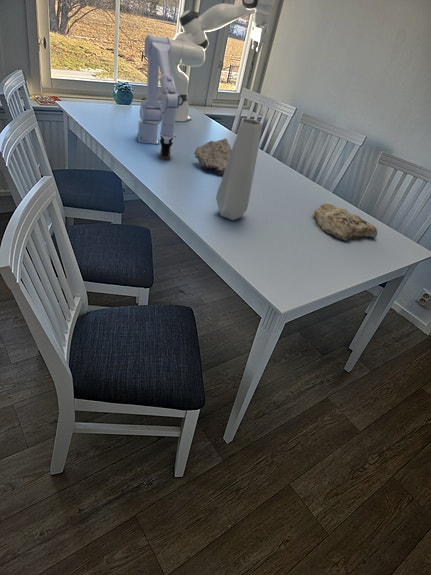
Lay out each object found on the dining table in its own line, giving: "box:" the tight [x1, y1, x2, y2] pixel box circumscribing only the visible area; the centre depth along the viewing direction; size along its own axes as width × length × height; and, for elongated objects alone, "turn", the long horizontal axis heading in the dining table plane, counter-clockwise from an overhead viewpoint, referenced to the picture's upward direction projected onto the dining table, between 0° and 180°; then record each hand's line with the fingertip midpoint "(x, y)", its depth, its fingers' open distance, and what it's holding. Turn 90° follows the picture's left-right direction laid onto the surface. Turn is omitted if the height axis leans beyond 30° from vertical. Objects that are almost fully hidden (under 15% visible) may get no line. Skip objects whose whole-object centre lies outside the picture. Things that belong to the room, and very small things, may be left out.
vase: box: [215, 117, 263, 221], centre depth 128 cm, size 12×12×33 cm
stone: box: [313, 203, 378, 242], centre depth 145 cm, size 19×6×25 cm
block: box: [159, 145, 171, 161], centre depth 170 cm, size 4×4×4 cm
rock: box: [193, 138, 232, 176], centre depth 167 cm, size 15×17×15 cm
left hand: (165, 154), depth 170 cm, fingers closed on block, 4 cm apart
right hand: (255, 50), depth 212 cm, fingers open, 8 cm apart
